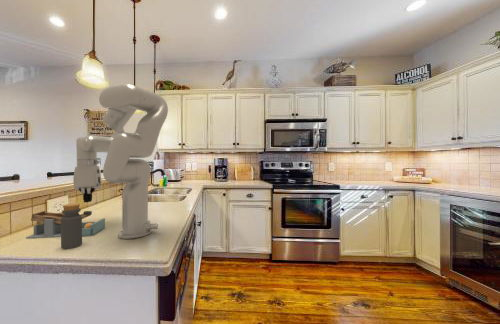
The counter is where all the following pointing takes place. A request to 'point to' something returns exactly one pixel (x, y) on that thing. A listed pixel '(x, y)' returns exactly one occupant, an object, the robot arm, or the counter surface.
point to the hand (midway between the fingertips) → (87, 201)
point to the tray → (93, 227)
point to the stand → (46, 230)
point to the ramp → (53, 216)
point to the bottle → (71, 226)
